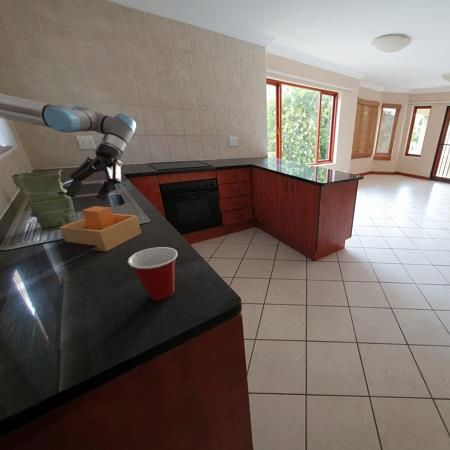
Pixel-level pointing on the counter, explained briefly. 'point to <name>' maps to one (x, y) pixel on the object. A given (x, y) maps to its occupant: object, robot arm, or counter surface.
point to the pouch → (47, 198)
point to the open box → (102, 232)
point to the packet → (98, 217)
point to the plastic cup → (156, 270)
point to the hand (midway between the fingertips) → (84, 197)
